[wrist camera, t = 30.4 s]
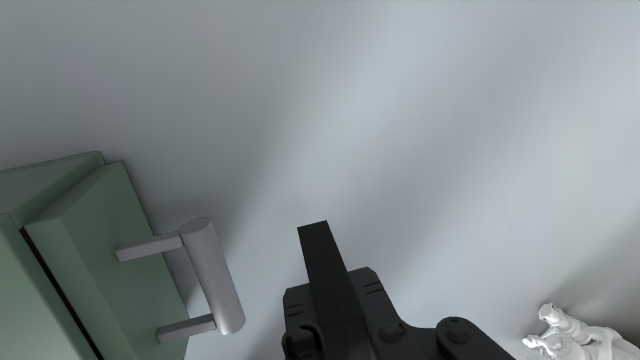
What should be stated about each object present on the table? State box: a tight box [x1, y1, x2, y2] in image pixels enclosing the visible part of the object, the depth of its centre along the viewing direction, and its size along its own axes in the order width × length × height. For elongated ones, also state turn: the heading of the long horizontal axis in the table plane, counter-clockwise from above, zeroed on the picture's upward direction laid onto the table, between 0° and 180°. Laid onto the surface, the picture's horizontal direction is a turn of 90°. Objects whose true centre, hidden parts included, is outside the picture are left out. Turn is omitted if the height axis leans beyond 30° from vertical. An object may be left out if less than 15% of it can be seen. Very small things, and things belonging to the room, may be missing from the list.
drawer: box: [19, 162, 245, 360], centre depth 16 cm, size 20×11×6 cm, turn 100°
